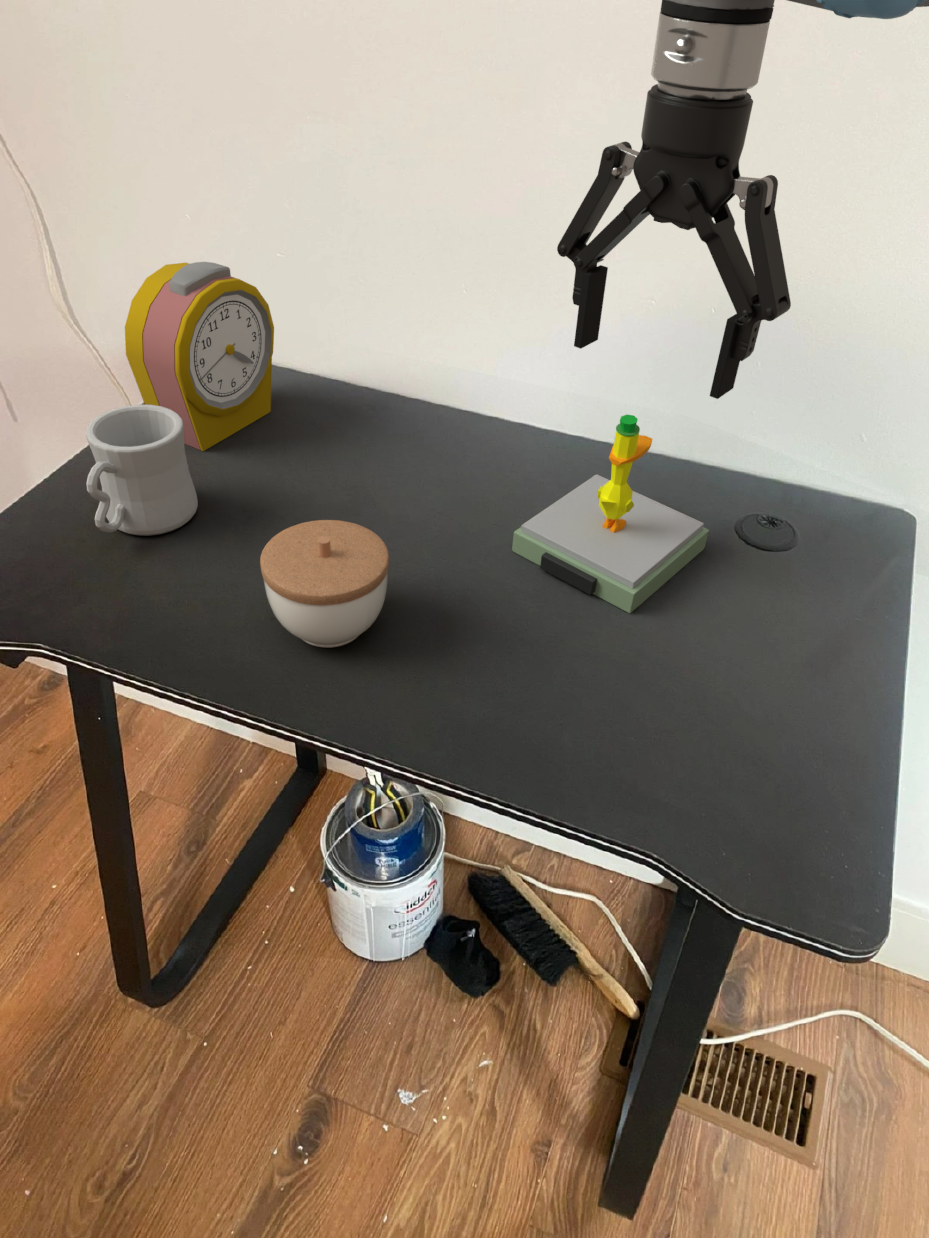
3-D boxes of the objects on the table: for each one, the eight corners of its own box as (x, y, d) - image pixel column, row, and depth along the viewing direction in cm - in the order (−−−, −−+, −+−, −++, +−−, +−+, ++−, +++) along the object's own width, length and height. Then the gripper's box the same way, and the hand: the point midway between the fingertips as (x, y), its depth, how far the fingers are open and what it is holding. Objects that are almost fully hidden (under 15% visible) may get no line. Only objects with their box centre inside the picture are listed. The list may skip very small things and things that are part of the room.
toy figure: (620, 504, 93) (639, 396, 85) (649, 518, 91) (672, 410, 83) (580, 531, 89) (597, 421, 81) (610, 547, 87) (630, 435, 80)
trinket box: (335, 572, 88) (331, 489, 82) (414, 625, 83) (415, 541, 76) (243, 623, 82) (231, 537, 76) (322, 684, 76) (315, 598, 70)
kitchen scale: (704, 549, 93) (711, 523, 91) (625, 617, 85) (631, 591, 83) (591, 495, 100) (595, 470, 98) (507, 554, 91) (509, 527, 89)
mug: (142, 481, 98) (123, 395, 92) (216, 500, 96) (202, 414, 89) (65, 544, 89) (39, 455, 83) (145, 567, 87) (125, 477, 81)
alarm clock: (196, 460, 102) (168, 297, 90) (143, 437, 105) (109, 277, 93) (284, 407, 112) (270, 254, 100) (233, 388, 115) (213, 238, 103)
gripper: (530, 66, 69) (510, 336, 83) (848, 128, 57) (763, 431, 71) (587, 55, 74) (559, 313, 87) (892, 111, 62) (804, 399, 76)
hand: (650, 367), depth 79 cm, fingers open, 13 cm apart
